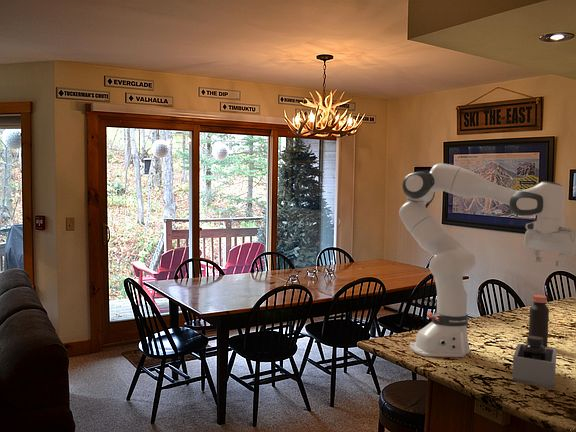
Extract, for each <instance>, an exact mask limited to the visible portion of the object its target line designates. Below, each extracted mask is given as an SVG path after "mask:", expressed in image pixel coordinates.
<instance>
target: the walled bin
mask: <svg viewBox="0 0 576 432" xmlns="http://www.w3.org/2000/svg"><path fill="white" fill-rule="evenodd" d="M525 345H526V344H522V343H517V346H516V349H515V351H514V354H513V357H512V358H513V361H512V382H518V383H522V384H529V385H533V386H539V387H545V388H552V389H554V388H555V382H556V381H555V380H556V379H555V378H556V370H557V369H556V368H557V349H556V348H551V347H549V348H548V347H546V361H543V360H537V359H530V358H524V357H523V352H524V346H525Z"/></svg>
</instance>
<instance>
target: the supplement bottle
mask: <svg viewBox="0 0 576 432" xmlns="http://www.w3.org/2000/svg"><path fill="white" fill-rule="evenodd" d="M526 337H527V338H526V344H524V345H525V346H524V352H523V357H524V358H530V359H537V360H543V361H546V348H547V347H546V348H545V347H544V346H543V338H541V337H538V336H529V335H528V336H526Z"/></svg>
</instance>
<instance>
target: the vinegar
mask: <svg viewBox="0 0 576 432" xmlns="http://www.w3.org/2000/svg"><path fill="white" fill-rule="evenodd" d="M547 301H548V297H547V296H546V295H542V294H534V295H532V302H533V305H531V306H530V307H529V323H528V324H529V325H528V336H538V337H541V338H543V346H544V347H545V348H548V342H549V341H548V340H549V321H550V319H549V317H550V310H549V308H548V306H547V305H546V304H547Z"/></svg>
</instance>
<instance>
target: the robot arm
mask: <svg viewBox="0 0 576 432" xmlns="http://www.w3.org/2000/svg"><path fill="white" fill-rule="evenodd" d="M401 185H402V191H403V193H404V195H405V196H406V198H407V199H406V201H405V203H403V204H402V205H401V207H400V208H399V211H398V215H399V218H400V221H401V222H402V224H403V225H404V227H405V228H406V230H407V231H408V232H409V234H410V235H411V236H412V237H413V239H414V240H415V241H416V242H417V244H418V245H419V247H420V248H421V249H423V250H424V251H425V252H427V253H429V254H430V255H431V256H432V257H431V259H430V261H429V265H428V266H429V271H430V274H431V275H432V276H433V279H434V282H435V287H436V311H435V312H434V313H432V312H431V311H429V312H427V314H426V315H427V317H428V318H430V319H432V320H431V322H429V323H428V324H426V325H425V326H424V327H422V328H421V329H420V330H418V331H417V334H416V335H415V336H416V338H415V342H410V344H409V348H410V350H412V351H413V352H414V353H415V354H418V355H419V356H423V357H439V358H440V357H442V358H444V357H445V358H446V357H447V358H464V357H465V356H466V355H468V354H469V353H470V352H471V349H470V345H469V339H468V325H469V323H468V322H469V317H468V316H469V314H468V313H467V312H468V293H467V291H466V290H465V289H466V288H465V285H464V279H463V277H464V276H466V275H469V273H471V271H473V269H474V268H475V266H476V262H477V261H476V260H477V259H476V256H475V255H474V253H473V251H471V250H469V249H468V248H466V247H465V246H463V245H462V244H461V243H460V242H459V241H458V240H456V239H455V238H454V237H452V235H450V234H449V233H448V232H447V231H446V230H445V228H443V227H442V225H441V224H440V223H439V222H438V221H437V220H436V219H435V218H434V216H433V215H432V214H431V213H430V212H429V210H428V207H429V205H430V204H431V203H432V202H433V200H434V198H435V195H436V194H435V193H436V192H440V191H441V192H445V193H449V194H451V195H454V196H456V197H457V196H458V197H460V198H469V199H475V198H476V199H479V198H481V199H489V200H492V201H496V202H498V203H501V204H504V205H507V206H509V207H510V210H511V211H512V213H514V214H515V215H517V216H519V217H528V216H529V217H530V216H535V215H536V217H537V218H536V220H534V221H532V222H529V223H526V224H525V229H526V231H525V234H524V240H523V241H524V247H525V249H526V250H527V249H529V250H532V254H533V256H534V262H535V263H542V262H543V260H542V259H543V257H541V256H540V252H547V253H554V254H558V257H559V258H558V260H555V266H556V267H563V266H564V261H565V260H566V258H567V256H574V255H575V254H576V232H575V231H574V230H573V229H572V228H570V227H565V215H564V210H565V207H566V191H565V188H564V186H563V185H562V184H561V183H557V182H553V181H546V180H545V181H544V180H543V181H540V182H539V183H538V184H535V185H534V186H532V187H530V188H526V189H523V190H522V189H521V190H517V189H513V188H511V187H510V188H509V187H507V186H503V185H500V184H497V183H494V182H492V181H490V180H488V179H487V178H485V177H483V176H481V175H480V174H477V173H476V172H474V171H472V170H470V169H467V168H464V167H461V166H458V165H454V164H450V163H449V164H448V163H441V162H439V163H436V164H434V165H432V167H431V168H430V171H428V170H423V171H413V172H410V173H409V174H407V175H405V177H404V178H403V181H402V184H401Z"/></svg>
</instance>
